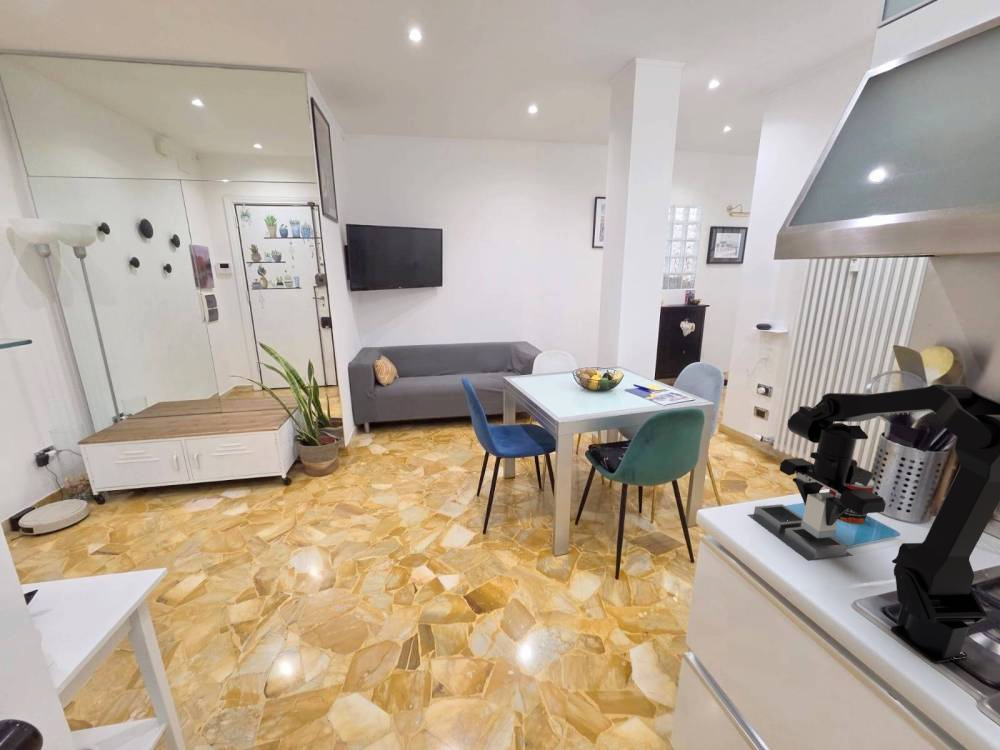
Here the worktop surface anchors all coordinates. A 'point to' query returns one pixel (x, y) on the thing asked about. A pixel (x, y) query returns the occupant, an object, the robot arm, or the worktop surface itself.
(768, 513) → the grey slotted tray
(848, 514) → the canned food
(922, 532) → the worktop surface
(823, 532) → the plug
